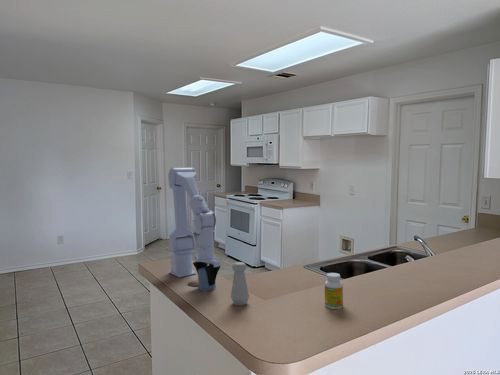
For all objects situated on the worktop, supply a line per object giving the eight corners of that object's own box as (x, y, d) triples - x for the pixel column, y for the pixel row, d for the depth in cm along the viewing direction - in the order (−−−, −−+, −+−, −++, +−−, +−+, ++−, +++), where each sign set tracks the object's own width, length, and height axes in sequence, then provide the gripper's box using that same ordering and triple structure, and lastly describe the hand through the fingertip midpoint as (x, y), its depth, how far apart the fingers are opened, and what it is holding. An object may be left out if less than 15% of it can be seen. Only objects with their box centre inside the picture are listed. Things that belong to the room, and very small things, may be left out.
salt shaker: (247, 307, 108) (246, 265, 107) (229, 306, 109) (227, 265, 109) (251, 300, 114) (249, 260, 113) (233, 299, 115) (232, 260, 114)
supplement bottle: (325, 309, 105) (325, 277, 105) (324, 302, 110) (323, 271, 110) (344, 309, 104) (343, 277, 104) (341, 302, 110) (341, 272, 109)
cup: (196, 287, 128) (195, 268, 127) (209, 284, 131) (209, 265, 131) (204, 291, 123) (203, 272, 123) (218, 288, 127) (217, 268, 126)
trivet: (184, 283, 133) (184, 282, 133) (200, 279, 138) (200, 278, 138) (193, 287, 128) (193, 286, 128) (210, 283, 132) (210, 282, 132)
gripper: (186, 244, 130) (187, 280, 130) (206, 250, 118) (208, 290, 119) (202, 241, 134) (203, 276, 135) (224, 247, 123) (225, 285, 123)
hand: (207, 282), depth 127 cm, fingers closed on cup, 6 cm apart
